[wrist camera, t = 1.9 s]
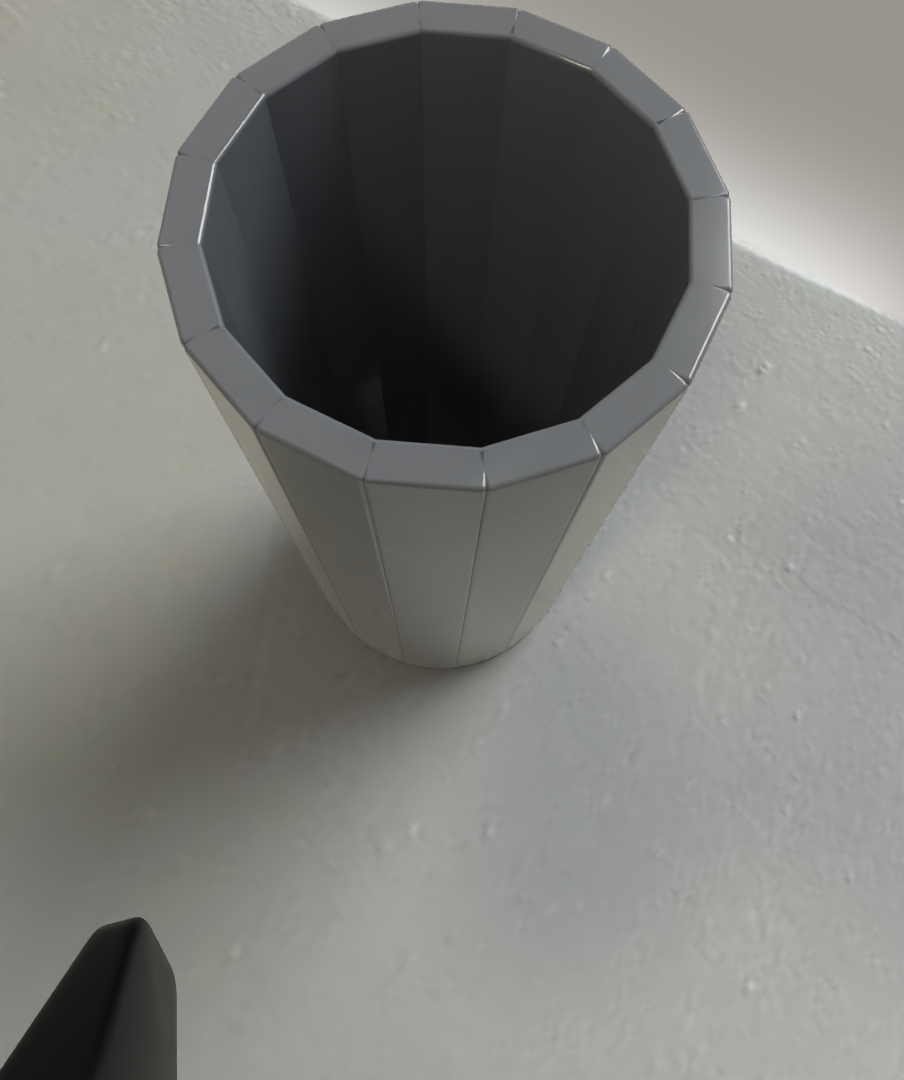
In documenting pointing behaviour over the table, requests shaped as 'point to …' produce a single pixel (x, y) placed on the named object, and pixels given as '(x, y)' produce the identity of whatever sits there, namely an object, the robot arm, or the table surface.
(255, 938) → the table surface
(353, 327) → the cup
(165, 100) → the table surface
